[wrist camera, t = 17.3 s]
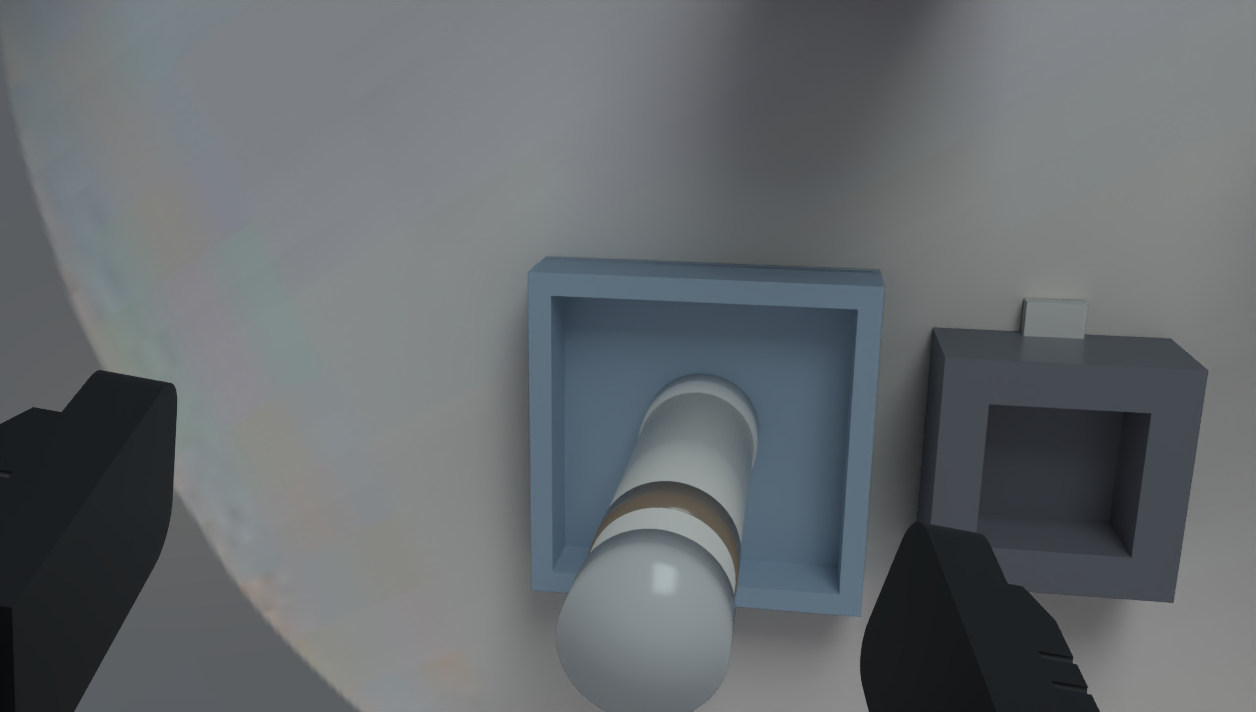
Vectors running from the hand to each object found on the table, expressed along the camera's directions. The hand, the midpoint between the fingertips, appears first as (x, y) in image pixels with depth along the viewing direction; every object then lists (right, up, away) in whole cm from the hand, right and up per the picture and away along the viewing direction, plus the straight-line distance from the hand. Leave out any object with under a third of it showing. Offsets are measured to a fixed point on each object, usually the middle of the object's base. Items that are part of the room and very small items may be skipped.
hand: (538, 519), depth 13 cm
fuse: (+4, -1, +31) cm, 31 cm away
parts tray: (+4, -1, +31) cm, 31 cm away
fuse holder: (+16, -1, +29) cm, 33 cm away
